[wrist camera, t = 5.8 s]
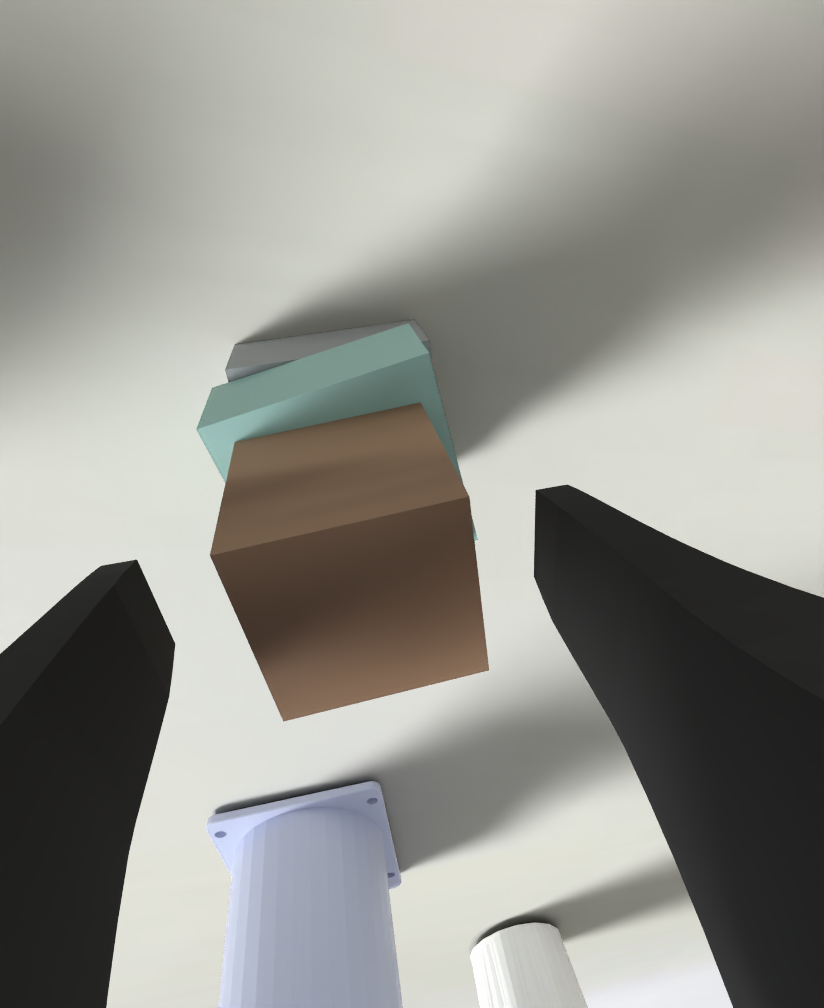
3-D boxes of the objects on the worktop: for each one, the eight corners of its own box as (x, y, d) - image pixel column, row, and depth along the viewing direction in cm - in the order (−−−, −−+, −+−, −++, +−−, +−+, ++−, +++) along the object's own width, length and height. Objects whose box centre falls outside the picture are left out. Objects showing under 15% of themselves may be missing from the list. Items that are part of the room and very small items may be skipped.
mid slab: (454, 490, 16) (477, 539, 14) (290, 545, 16) (290, 601, 14) (408, 322, 14) (429, 352, 11) (212, 387, 14) (196, 429, 11)
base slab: (427, 470, 19) (442, 509, 16) (275, 495, 18) (272, 539, 16) (412, 317, 16) (429, 339, 14) (235, 341, 16) (224, 369, 13)
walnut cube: (443, 549, 14) (488, 670, 11) (286, 585, 14) (283, 721, 11) (420, 402, 12) (469, 496, 9) (234, 442, 12) (209, 555, 8)
